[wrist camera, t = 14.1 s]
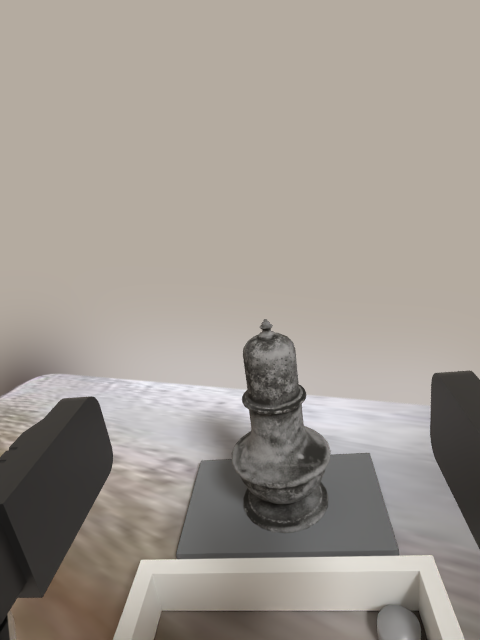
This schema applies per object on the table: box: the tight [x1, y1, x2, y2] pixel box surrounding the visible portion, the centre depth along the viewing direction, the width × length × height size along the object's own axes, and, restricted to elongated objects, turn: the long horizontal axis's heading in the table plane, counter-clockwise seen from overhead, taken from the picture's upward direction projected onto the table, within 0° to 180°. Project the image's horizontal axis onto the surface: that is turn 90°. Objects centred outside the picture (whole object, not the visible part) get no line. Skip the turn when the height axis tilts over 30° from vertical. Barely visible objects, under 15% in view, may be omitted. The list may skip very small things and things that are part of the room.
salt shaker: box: [232, 319, 330, 533], centre depth 25 cm, size 6×6×12 cm
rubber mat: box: [176, 453, 399, 559], centre depth 27 cm, size 12×8×1 cm, turn 85°
